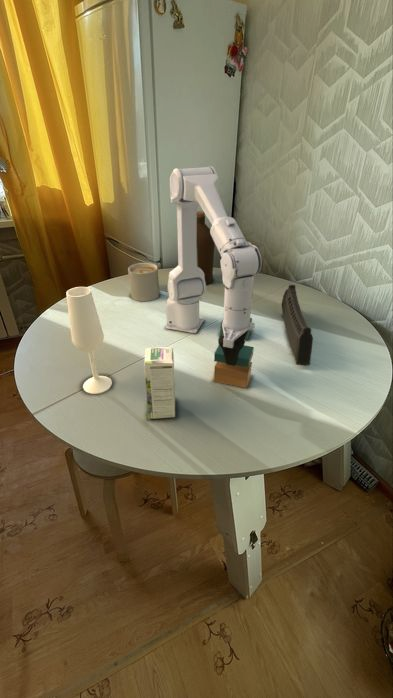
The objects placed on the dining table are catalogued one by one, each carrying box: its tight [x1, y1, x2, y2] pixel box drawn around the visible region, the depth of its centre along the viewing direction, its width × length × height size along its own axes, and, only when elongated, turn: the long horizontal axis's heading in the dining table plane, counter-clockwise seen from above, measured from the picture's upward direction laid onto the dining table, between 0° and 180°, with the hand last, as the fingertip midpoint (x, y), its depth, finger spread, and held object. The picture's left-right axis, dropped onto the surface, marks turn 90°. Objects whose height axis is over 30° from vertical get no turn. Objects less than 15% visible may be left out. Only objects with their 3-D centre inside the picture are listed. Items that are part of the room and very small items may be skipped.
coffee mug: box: [127, 262, 160, 302], centre depth 123 cm, size 13×10×10 cm
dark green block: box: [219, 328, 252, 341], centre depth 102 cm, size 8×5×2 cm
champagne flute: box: [65, 286, 113, 395], centre depth 77 cm, size 7×7×24 cm
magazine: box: [281, 284, 314, 367], centre depth 98 cm, size 17×3×30 cm
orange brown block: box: [213, 361, 253, 381], centre depth 84 cm, size 8×5×2 cm, turn 72°
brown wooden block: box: [213, 371, 252, 389], centre depth 85 cm, size 8×5×2 cm, turn 72°
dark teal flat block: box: [213, 344, 255, 367], centre depth 81 cm, size 8×5×2 cm
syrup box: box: [143, 346, 176, 420], centre depth 73 cm, size 6×6×14 cm
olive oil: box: [196, 210, 216, 285], centre depth 128 cm, size 11×11×25 cm
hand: (233, 357), depth 82 cm, fingers closed on dark teal flat block, 5 cm apart
